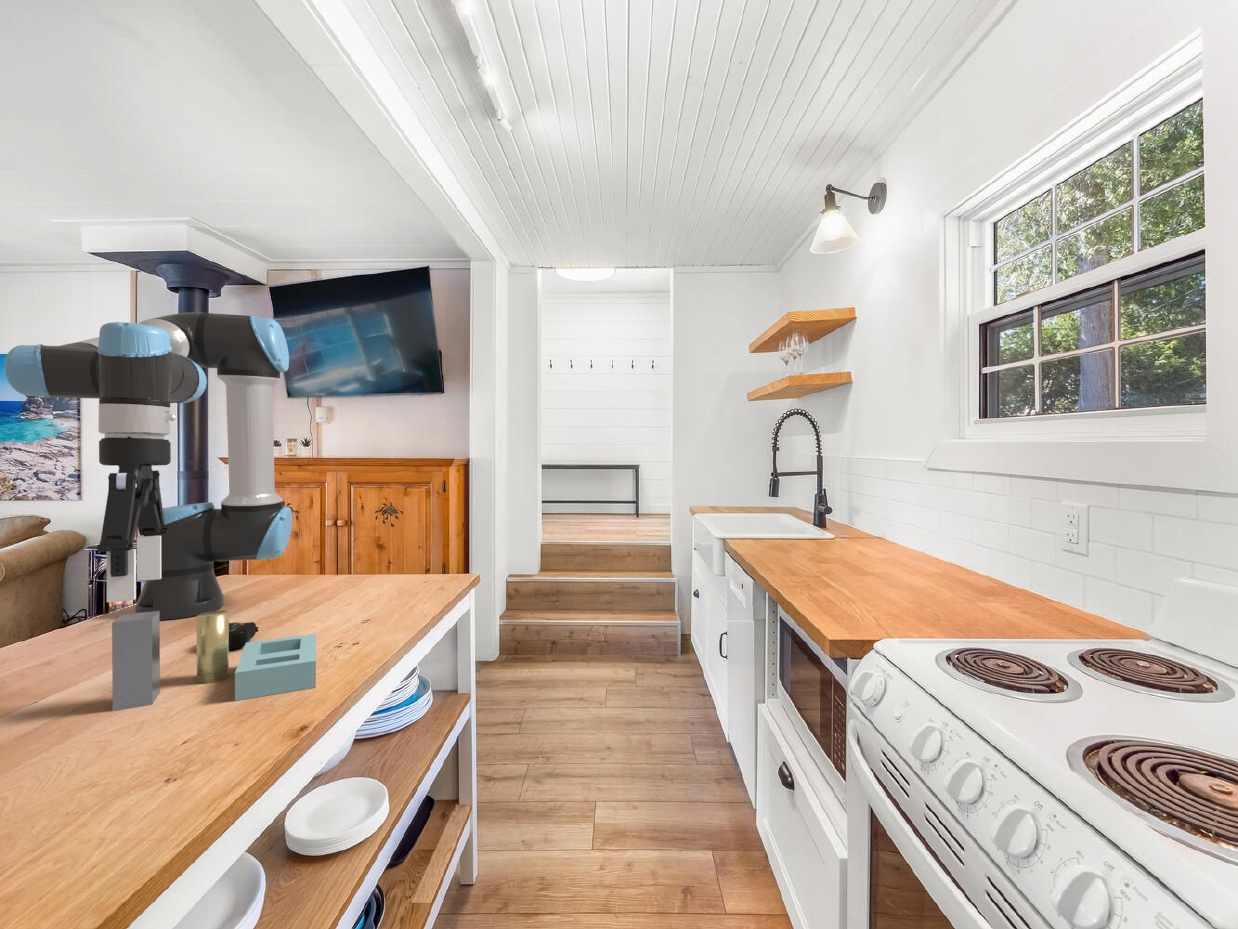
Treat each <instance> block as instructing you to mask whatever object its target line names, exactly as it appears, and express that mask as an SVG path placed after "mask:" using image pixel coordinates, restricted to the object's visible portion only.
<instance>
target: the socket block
mask: <svg viewBox="0 0 1238 929" xmlns="http://www.w3.org/2000/svg"><path fill="white" fill-rule="evenodd" d="M239 658H240V659H239V661H238V662H237V666H236V669H235V672H234V701H236V702H237V701H242V700H243V701H244V700H248V699H255V698H259V697H267V696H271V695H277V694H284V693H290V692H291V693H292V692H296V691H302V690H308V689H313V688H316V684H317V683H316V676H317V668H316V667H317V666H316V665H317V634H316V633H310V634H302V635H301V634H300V635H294V636H288V637H287V636H286V637H285V636H284V637H280V638H279V637H278V638H271V639H263V640H255V641H249V642H246V644H245V646H243V650H242V652H241V654H240V657H239Z"/></svg>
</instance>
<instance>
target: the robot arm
mask: <svg viewBox="0 0 1238 929" xmlns="http://www.w3.org/2000/svg"><path fill="white" fill-rule="evenodd" d="M284 333H285V332H284V330H283V328H282V327H281V325H280V324H279V322H278V321H276V320H274V319H272V318H270V317H262V316H257V315H242V314H228V313H213V312H211V313H210V312H202V311H201V312H199V311H197V312H196V311H193V312H190V311H189V312H181V313H175V314H174V313H173V314H167V315H163V316H158V317H153V318H149V319H145V320H142V321H140V322H139V323H135V322H126V321H125V322H120V321H113V322H111V321H110V322H107V323H104V324H103V325H101V327H100V329H99V334H98V337H92V338H89V339H83V340H81V341H80V340H79V341H76V342H70V343H65V344H62V345H43V344H40V343H39V344H31V345H30V344H20V345H16V346H14V347H12V349H10V350H9V351H8V353H7V355H6V357H5V359H4V371H5V375H6V380H7V381H8V383H9V386H11V387H12V389H14V390H15V391H16V392H17V393H18V394H20V395H23V396H27V397H28V396H29V397H30V396H31V397H43V398H47V399H53V398H58V399H59V398H63V399H64V398H65V399H98V433H99V434H102V435H103V434H104V437H101V439H100V440H98V462H99V464H100V465H102V466H107V467H108V466H109V467H110V466H117V467H118V471H117V472H110V473H109V474H108V476H107V480H108V491H107V496H106V497H107V498H106V505H105V511H104V515H103V516H104V517H103V524H102V530H101V537H100V541H99V544H97V545H96V550H97V552H98V553H103V552H106V553H105V554H106V555H105V556H106V603H115V602H118V603H119V602H128V601H135V600H136V599H137V582H139V581H140V582H141V581H144V583H143V586H142V589H141V591H140V595H139V596H138V599H137V601H136V604H135V608H134V609H135V612H134V613H143V612H153V611H159V619H160V621H164V620H176V619H183V618H185V619H186V618H190V617H194V616H196V617H197V615H199V614H201V613H205V612H210V611H218V610H219V609H221V608H223V606H224V593H223V591H222V589H221V587H220V584H219V582H218V579H217V577H216V574H215V571H214V569H215V568H214V567H215V566H214V562H226V561H229V562H230V561H231V562H232V561H251V560H252V561H254V560H256V561H262V560H272V559H277V558H279V557H281V556H282V555H283V554H284V553H285V551H286V548H287V546H288V544H289V541H290V537H291V532H292V524H293V514H292V512H293V511H292V509H291V508H290V507H288V506H284V502H283V498H282V497H281V496H280V495H279V494H277V493H276V490H275V488H276V486H275V483H276V482H275V443H274V442H275V440H274V438H275V437H274V436H275V435H274V396H273V392H274V391H273V390H274V389H273V388H274V387H275V385H276V384H278V383H279V382H280V381H281V373H285V372H287V371H288V370H289V367H290V366H289V365H290V353H289V348H288V343H287V340H286V337H285V336H286V335H285V334H284ZM203 368H207V369H216V377H217V378H218V379H219V380H221V381H222V382H223V383H224V384H225V396H226V420H227V421H226V425H227V426H226V429H227V430H226V431H227V432H226V433H227V457H228V460H227V462H228V464H227V465H228V492H229V493H228V495H227V496H226V497H225V498H223V499H222V500H221V501H220V508H215V505H214V503H213V502H211V501H210V502H200V503H199V502H197V503H190V504H182V505H175V506H174V505H173V506H169V507H163V502H162V495H161V488H160V487H161V486H160V476H161V475H160V474H161V473H160V471H159V470H153V467H152V466H168V465H169V464H171V458H172V457H171V455H172V453H171V452H172V450H171V447H172V446H171V445H172V444H171V443H172V442H171V441H170V440H169V439H165V436H168V435H171V423H170V422H174V421H175V420H176V416H175V414H172V413H171V411H170V410H171V404H175V403H176V404H187V403H191V402H194V401H196V400H197V399H199V398H201V396H203V394H204V393H205V391H206V388H207V384H208V380H207V376H206V373H205V372H204V370H203ZM137 529H138V534H139V536H137V537H136V533H137ZM135 537H136V548H134V542H135ZM136 581H137V582H136Z"/></svg>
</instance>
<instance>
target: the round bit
mask: <svg viewBox="0 0 1238 929" xmlns="http://www.w3.org/2000/svg"><path fill="white" fill-rule="evenodd" d="M229 618H230V616H229V611H228V610H219V609H217V610H215V611H210V612H205V613H201V614H199V615H196V682H197V684H213V683H217V682H221V681H223V680H225V679H227V678H229V675H230V673H229V671H230V670H229V668H230V667H229V666H230V663H229V662H230V661H229V660H230V658H229V657H230V656H229V655H230V653H229V652H230V651H229V650H230V649H229V623H230V622H229V621H230V620H229Z"/></svg>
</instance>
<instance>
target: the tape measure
mask: <svg viewBox="0 0 1238 929" xmlns="http://www.w3.org/2000/svg"><path fill="white" fill-rule="evenodd" d="M259 628H260V627H259V626H257V624H256V623H255V622H253V621H249V622H238V621H237V622H235V621H234V622H229V650H230V649H235V648H240V647H245V644H246V642H250V640H251V639H253V638H254V637H255V635H256V633H258V632H259Z"/></svg>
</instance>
